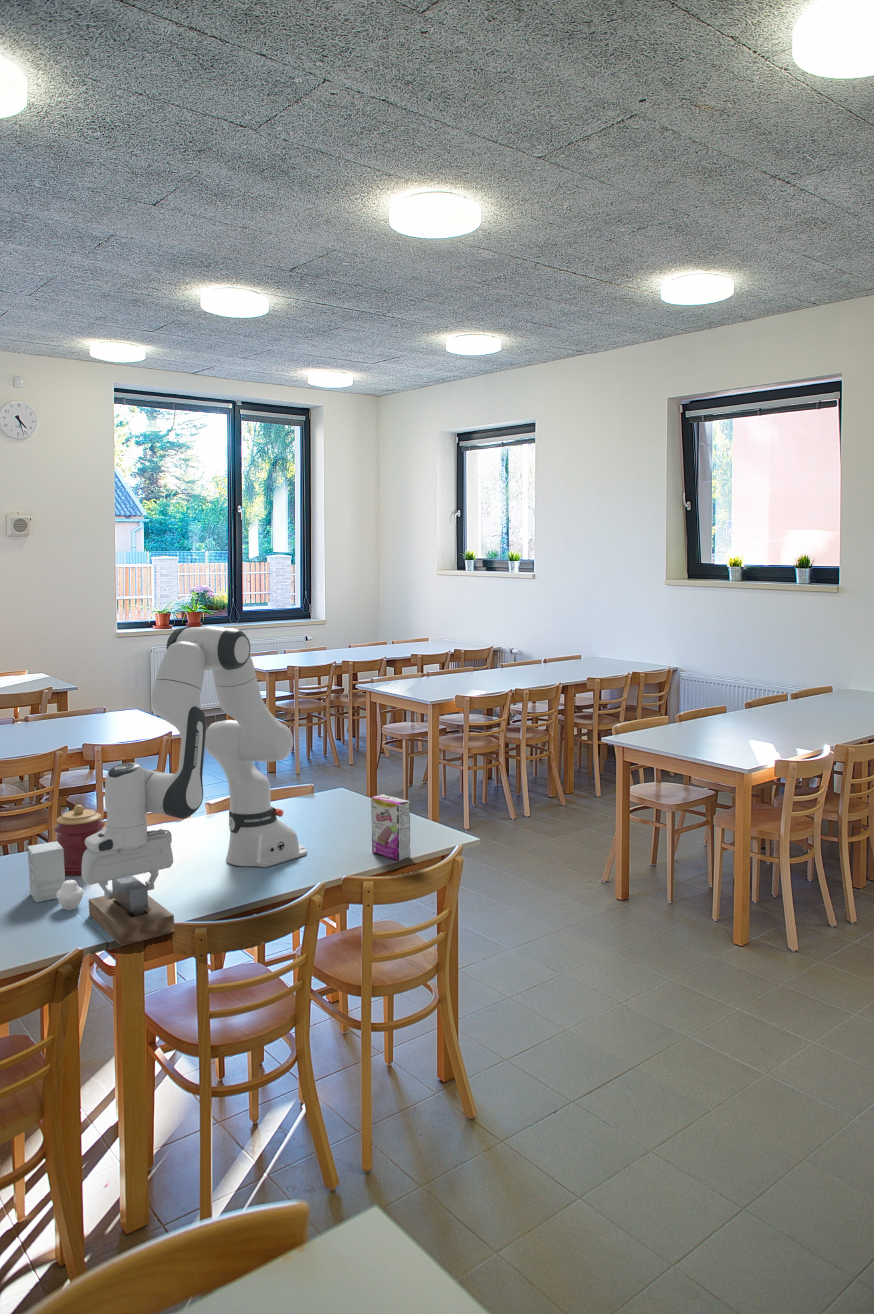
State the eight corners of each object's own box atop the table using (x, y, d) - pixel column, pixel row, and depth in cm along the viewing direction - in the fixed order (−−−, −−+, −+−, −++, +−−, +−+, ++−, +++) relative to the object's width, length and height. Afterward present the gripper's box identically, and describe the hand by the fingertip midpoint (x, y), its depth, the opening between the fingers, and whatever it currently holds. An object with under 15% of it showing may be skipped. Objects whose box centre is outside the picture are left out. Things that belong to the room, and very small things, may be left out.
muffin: (78, 901, 228) (76, 873, 227) (88, 908, 223) (87, 879, 223) (52, 908, 224) (51, 879, 223) (62, 914, 219) (61, 886, 218)
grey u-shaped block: (130, 913, 219) (128, 873, 218) (149, 929, 210) (147, 887, 209) (113, 918, 217) (111, 876, 216) (131, 934, 207) (129, 891, 206)
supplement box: (60, 888, 237) (58, 840, 235) (66, 897, 231) (64, 848, 229) (29, 894, 233) (26, 845, 231) (34, 903, 227) (31, 853, 225)
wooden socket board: (139, 904, 226) (138, 888, 225) (174, 932, 208) (173, 915, 208) (89, 915, 218) (88, 899, 218) (121, 946, 201) (120, 928, 201)
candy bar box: (370, 853, 263) (370, 797, 261) (383, 849, 267) (382, 793, 265) (398, 862, 256) (397, 803, 254) (411, 857, 259) (410, 800, 257)
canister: (44, 873, 249) (41, 809, 247) (79, 858, 261) (76, 797, 259) (83, 879, 244) (79, 813, 242) (117, 863, 256) (114, 801, 254)
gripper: (166, 824, 220) (168, 880, 221) (77, 840, 208) (80, 900, 209) (176, 830, 215) (178, 887, 216) (86, 847, 203) (89, 908, 204)
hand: (129, 894), depth 213 cm, fingers open, 8 cm apart
